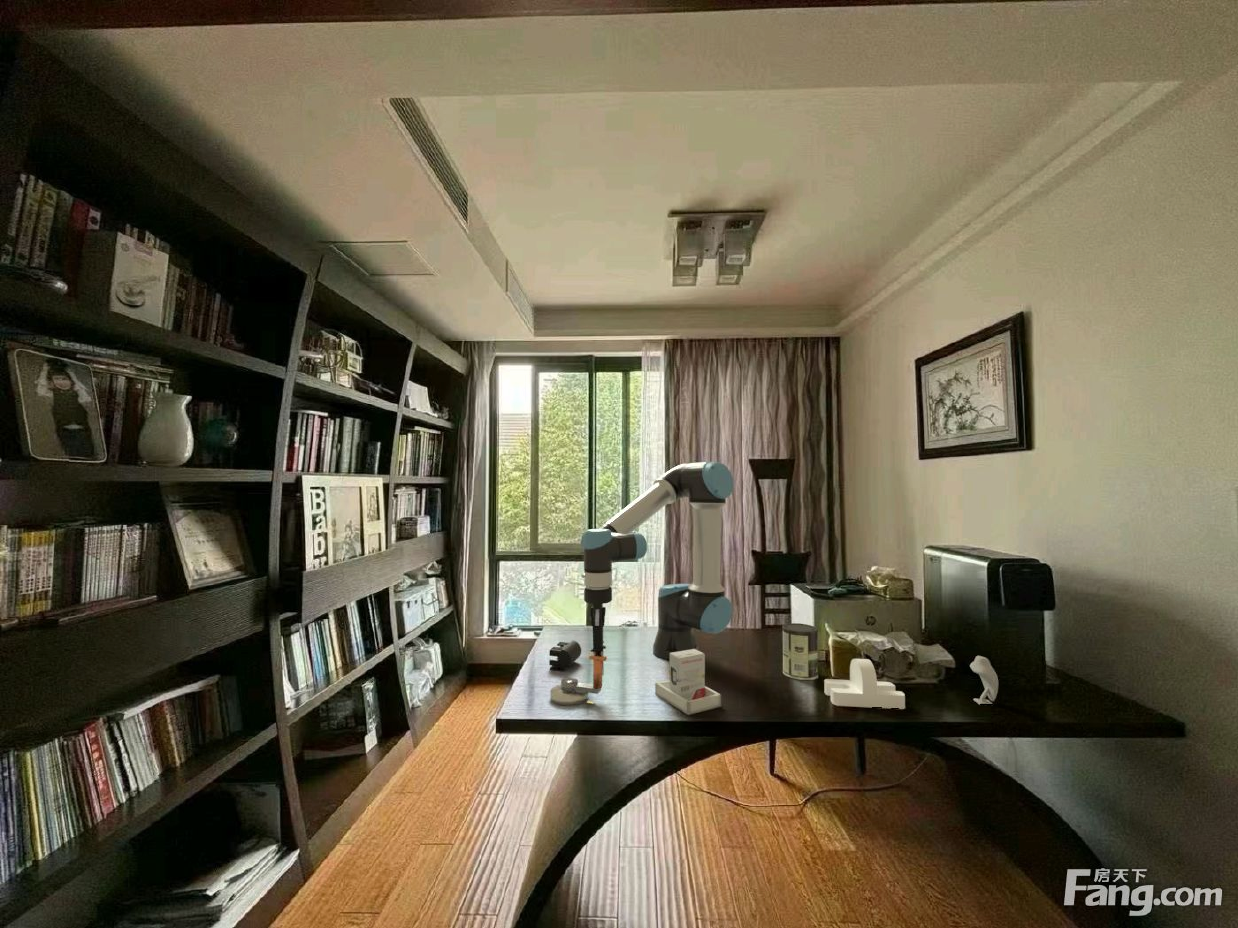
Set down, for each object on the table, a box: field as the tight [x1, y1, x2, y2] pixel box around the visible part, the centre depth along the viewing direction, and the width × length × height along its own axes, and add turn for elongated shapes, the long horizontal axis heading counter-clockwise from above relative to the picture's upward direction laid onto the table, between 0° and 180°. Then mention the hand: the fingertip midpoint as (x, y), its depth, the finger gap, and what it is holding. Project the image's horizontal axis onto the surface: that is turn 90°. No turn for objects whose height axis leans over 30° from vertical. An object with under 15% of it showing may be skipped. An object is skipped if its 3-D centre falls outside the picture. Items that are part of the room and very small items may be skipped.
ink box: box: [668, 649, 706, 701], centre depth 136 cm, size 9×5×12 cm, turn 117°
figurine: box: [969, 655, 999, 705], centre depth 137 cm, size 8×5×12 cm
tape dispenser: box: [823, 658, 906, 710], centre depth 138 cm, size 10×18×11 cm, turn 84°
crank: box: [560, 653, 608, 695], centre depth 136 cm, size 12×4×10 cm, turn 72°
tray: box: [654, 679, 722, 716], centre depth 136 cm, size 11×15×3 cm
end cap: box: [548, 639, 582, 672], centre depth 161 cm, size 10×7×7 cm
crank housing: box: [549, 683, 596, 707], centre depth 136 cm, size 10×12×2 cm
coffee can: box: [781, 622, 819, 681], centre depth 156 cm, size 10×10×14 cm
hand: (598, 674), depth 138 cm, fingers closed
